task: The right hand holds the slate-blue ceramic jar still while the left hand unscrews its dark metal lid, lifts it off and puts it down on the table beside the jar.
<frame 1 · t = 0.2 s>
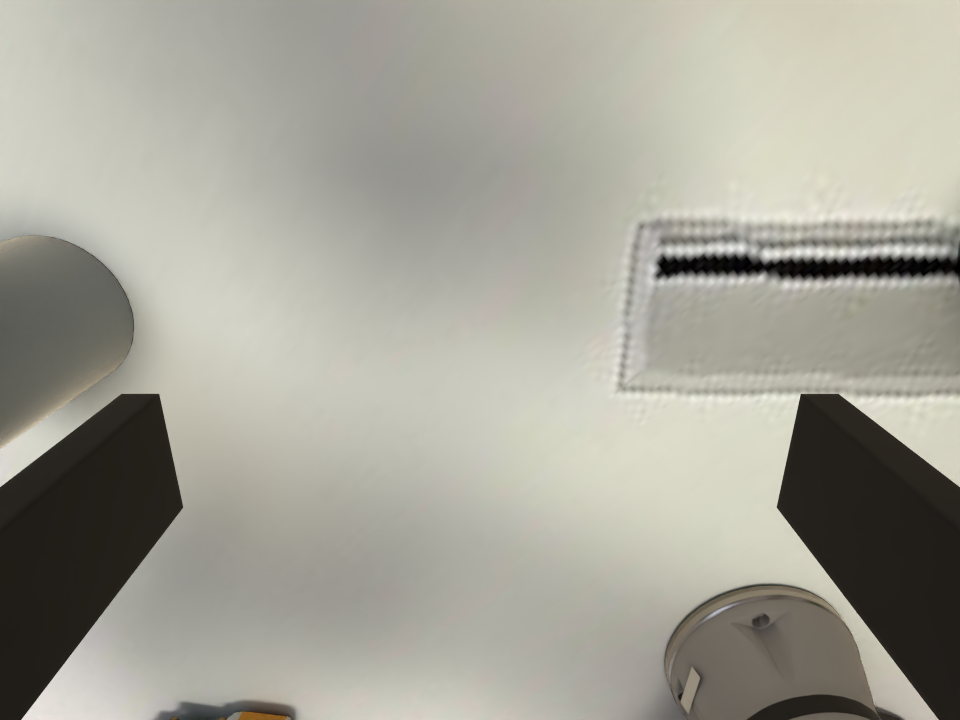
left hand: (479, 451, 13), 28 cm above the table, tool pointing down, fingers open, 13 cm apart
jar: (55, 312, 41), on the table
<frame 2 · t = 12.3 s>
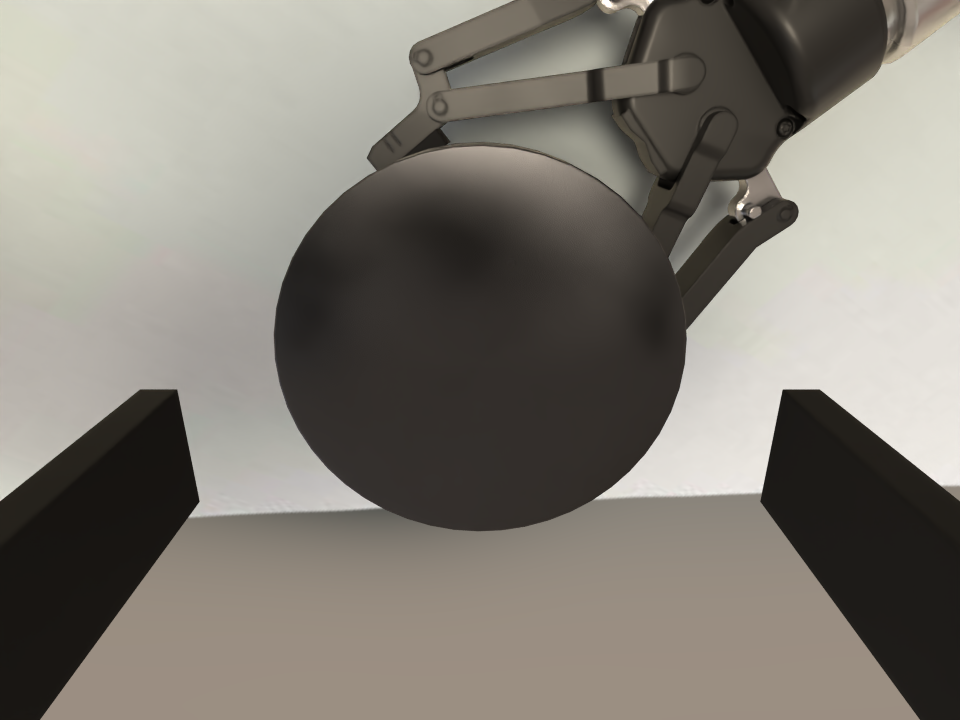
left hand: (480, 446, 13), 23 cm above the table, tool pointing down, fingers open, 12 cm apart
right hand: (412, 318, 30), fingers closed on jar, 10 cm apart
lid: (480, 357, 18), point 18 cm above the table, screwed on, not yet turned
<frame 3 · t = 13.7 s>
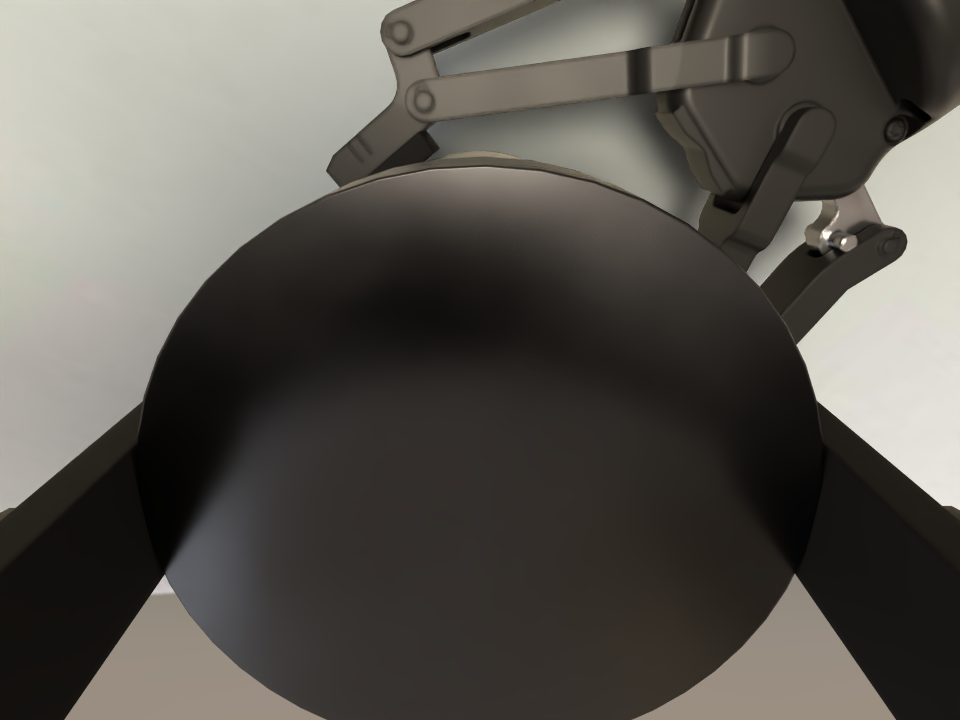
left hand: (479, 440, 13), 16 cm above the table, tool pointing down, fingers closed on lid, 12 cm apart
right hand: (391, 377, 23), fingers closed on jar, 10 cm apart
jar: (479, 270, 28), on the table, touching right hand
lid: (480, 505, 11), point 18 cm above the table, screwed on, not yet turned, touching left hand
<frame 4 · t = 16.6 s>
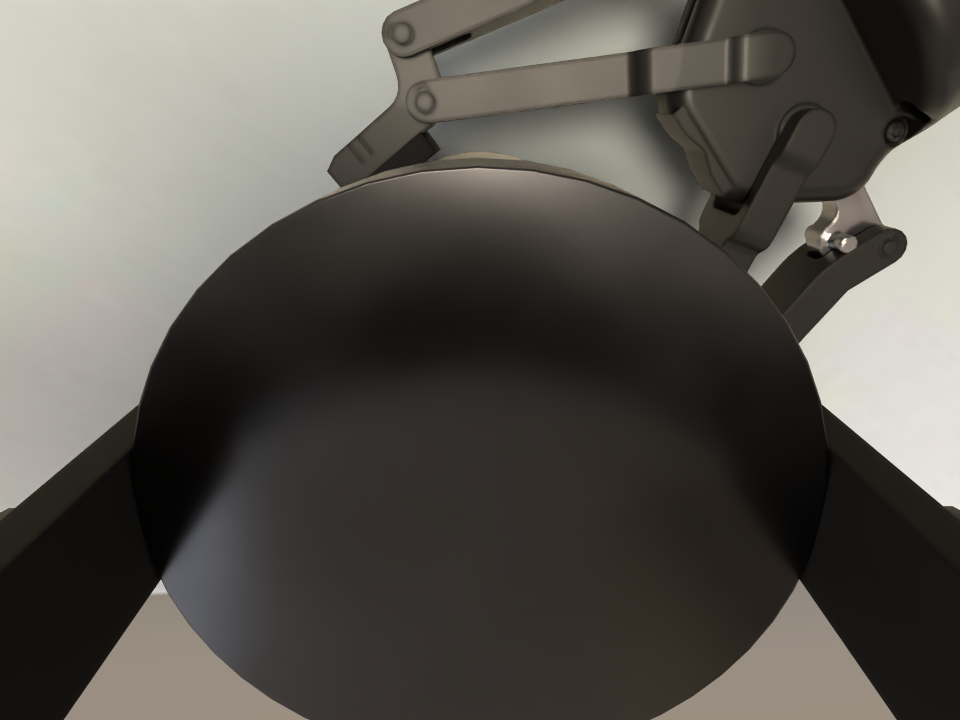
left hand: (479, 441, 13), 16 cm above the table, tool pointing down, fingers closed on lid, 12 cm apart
right hand: (392, 378, 23), fingers closed on jar, 10 cm apart
jar: (479, 271, 28), on the table, touching right hand
lid: (480, 511, 11), point 18 cm above the table, turned 69° so far, risen 0.2 cm, still on its thread, touching left hand
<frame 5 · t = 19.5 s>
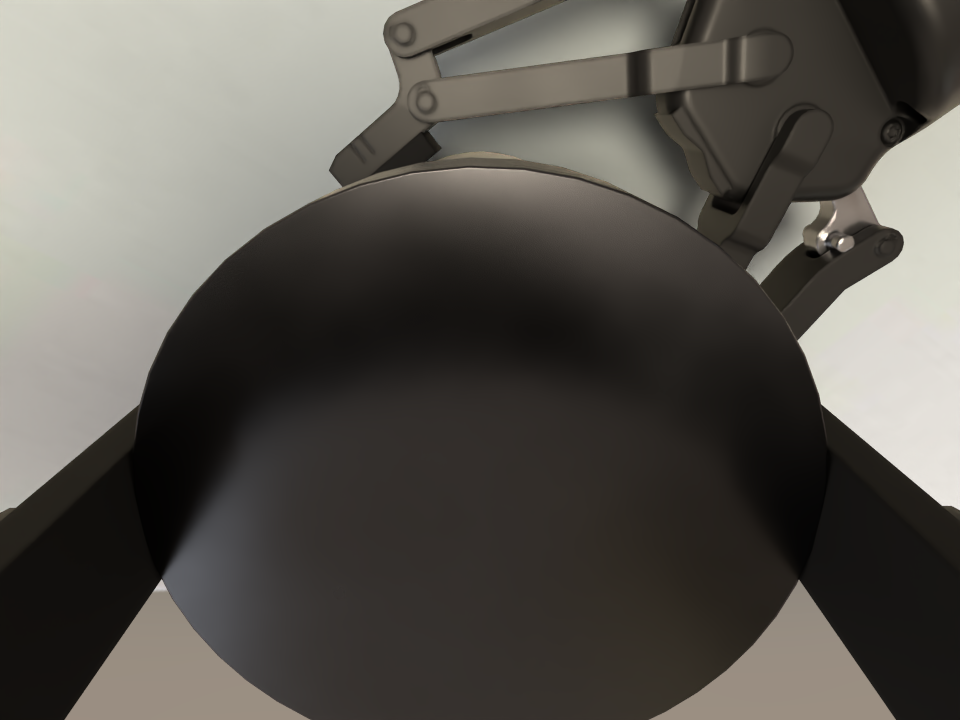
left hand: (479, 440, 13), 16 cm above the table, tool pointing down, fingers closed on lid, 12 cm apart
right hand: (392, 375, 23), fingers closed on jar, 10 cm apart
jar: (479, 270, 28), on the table, touching right hand
lid: (480, 510, 11), point 18 cm above the table, turned 138° so far, risen 0.3 cm, still on its thread, touching left hand
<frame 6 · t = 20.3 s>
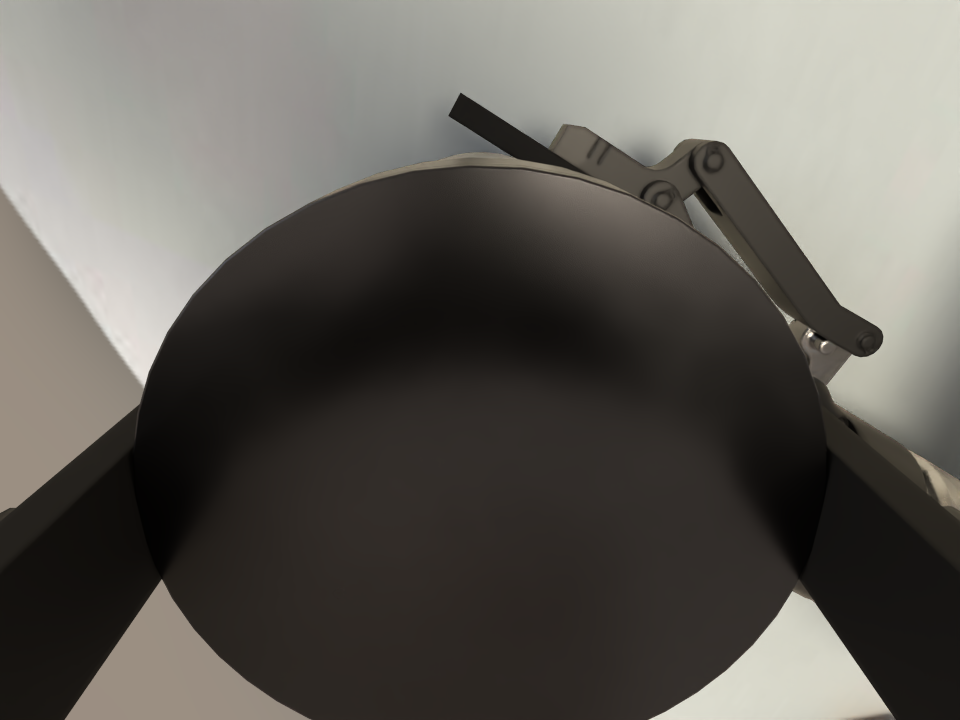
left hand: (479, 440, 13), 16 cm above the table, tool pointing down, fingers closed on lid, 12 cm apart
jar: (479, 270, 28), on the table, touching right hand
lid: (480, 510, 11), point 19 cm above the table, off its thread, touching left hand
when the left hand's fingers open (1 cm above the table, at t = 26.2 s): lid drops 2 cm, point 2 cm above the table.
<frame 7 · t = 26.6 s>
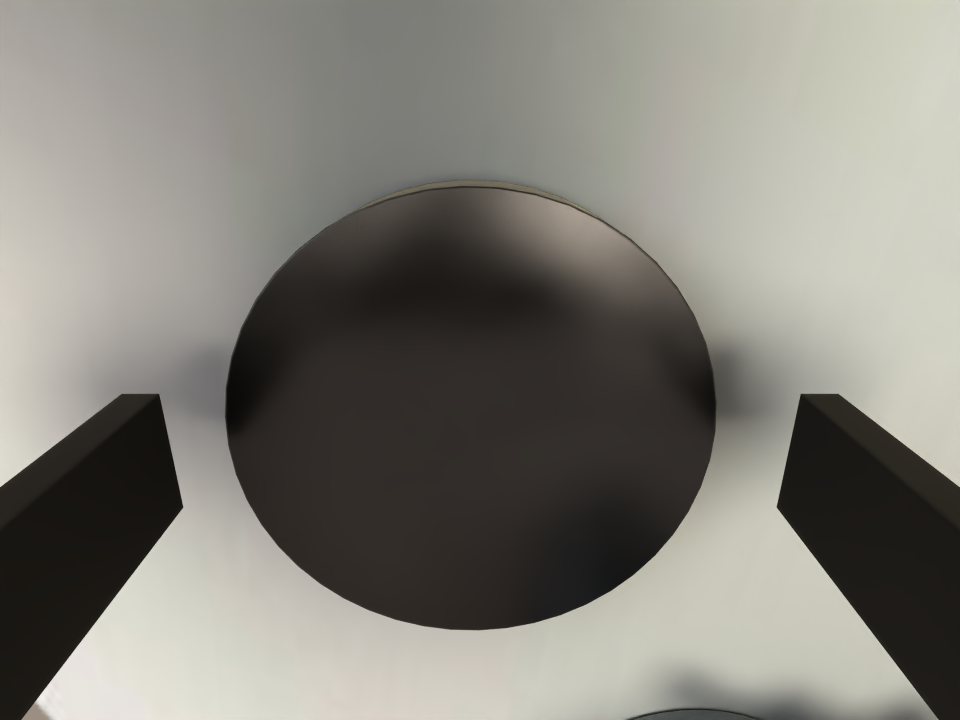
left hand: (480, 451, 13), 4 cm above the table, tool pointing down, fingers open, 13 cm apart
lid: (471, 432, 15), point 2 cm above the table, off its thread
when the right hand's fingers open (6 cm above the table, at t = 27.2 s): jar stays where it is, on the table.
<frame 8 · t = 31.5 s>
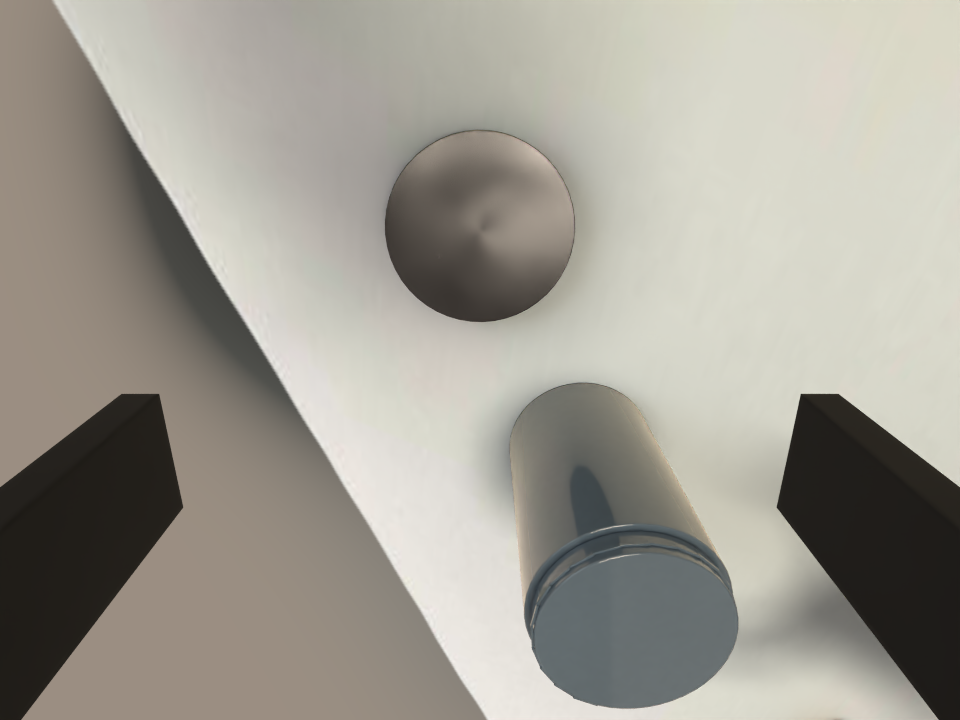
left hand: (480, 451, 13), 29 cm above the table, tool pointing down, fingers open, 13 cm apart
jar: (578, 446, 45), on the table
lid: (480, 230, 38), point 2 cm above the table, off its thread
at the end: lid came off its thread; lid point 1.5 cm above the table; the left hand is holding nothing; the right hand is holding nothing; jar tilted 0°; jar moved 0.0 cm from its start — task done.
